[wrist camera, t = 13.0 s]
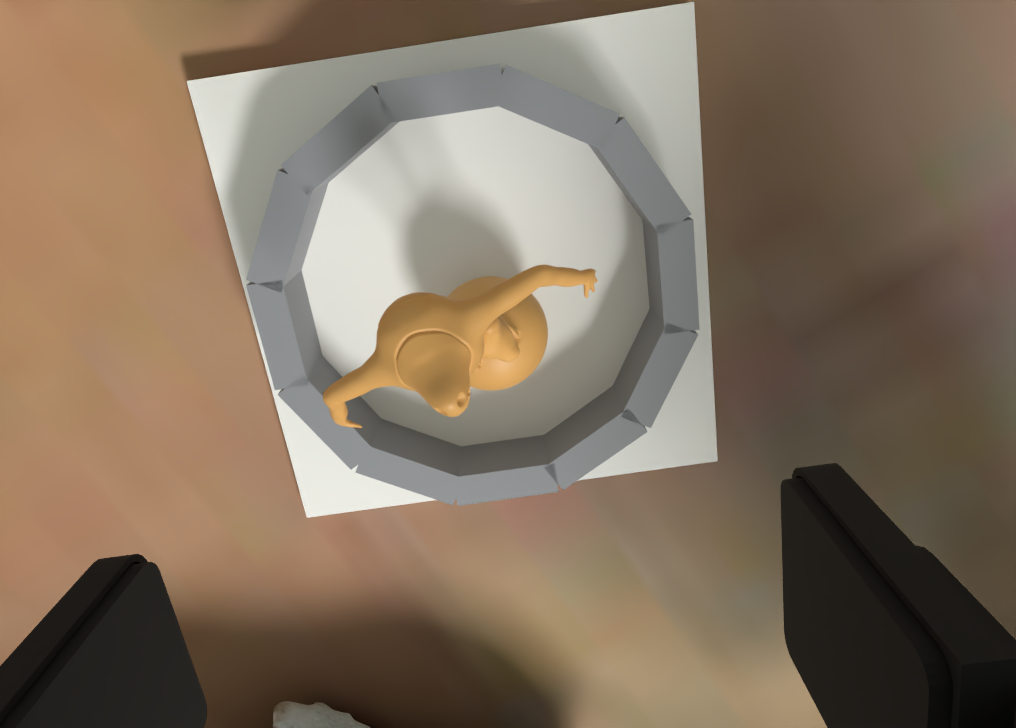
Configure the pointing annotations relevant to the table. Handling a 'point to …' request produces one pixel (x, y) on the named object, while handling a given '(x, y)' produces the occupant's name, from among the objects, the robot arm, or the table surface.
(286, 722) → the dark grey rounded piece
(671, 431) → the ring stand
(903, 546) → the robot arm
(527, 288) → the figurine
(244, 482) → the table surface
